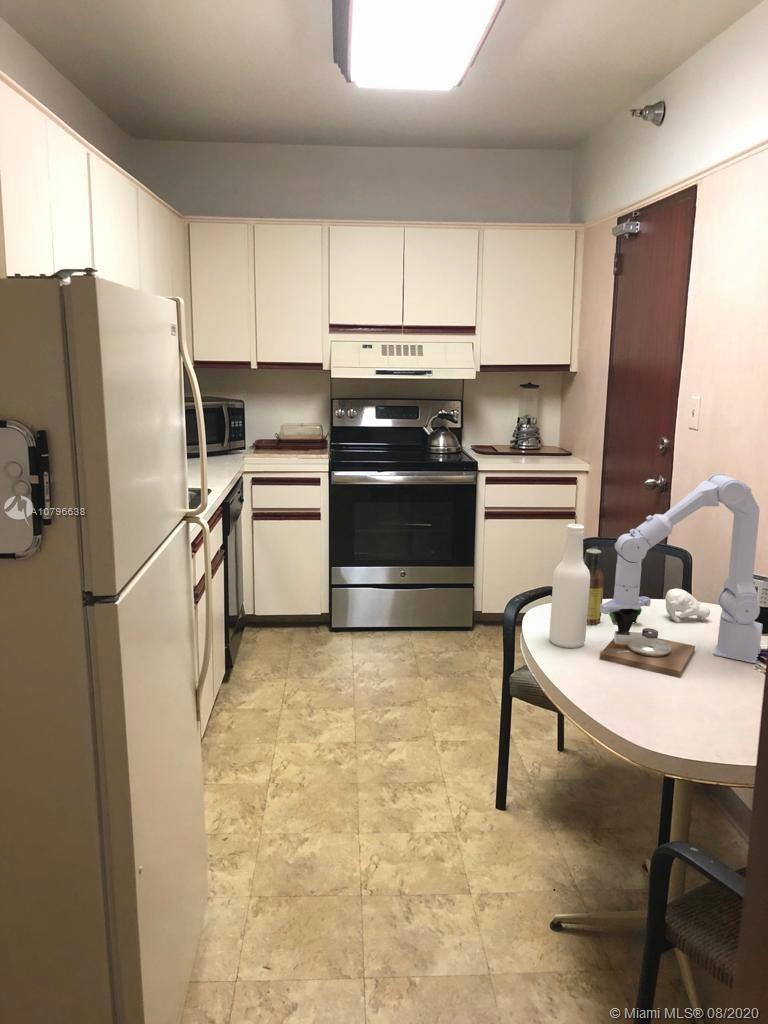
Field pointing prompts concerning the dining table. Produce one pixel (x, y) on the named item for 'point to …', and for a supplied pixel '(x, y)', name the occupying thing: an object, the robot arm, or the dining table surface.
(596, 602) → the sauce bottle
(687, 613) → the white lumpy piece
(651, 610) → the dining table surface
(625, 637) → the dial
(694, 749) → the dining table surface
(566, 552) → the white bottle
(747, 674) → the dining table surface
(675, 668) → the dial plate
